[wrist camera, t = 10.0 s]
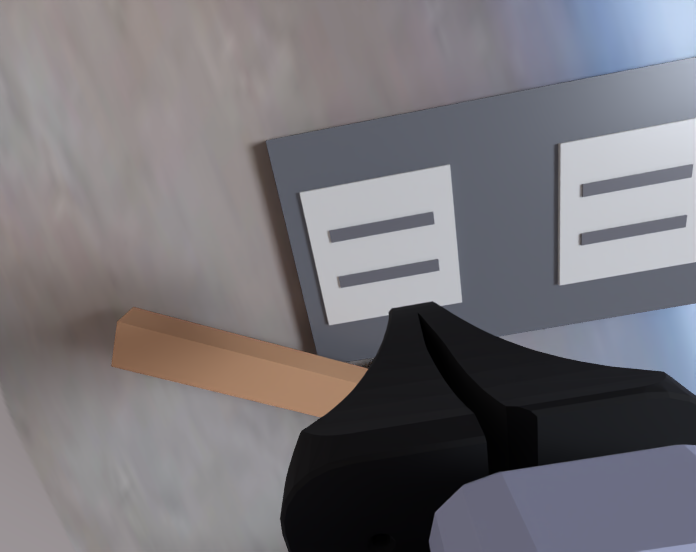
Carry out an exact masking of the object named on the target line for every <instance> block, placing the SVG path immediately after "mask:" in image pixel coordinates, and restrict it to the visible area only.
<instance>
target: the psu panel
mask: <svg viewBox="0 0 696 552" xmlns="http://www.w3.org/2000/svg"><path fill="white" fill-rule="evenodd" d="M266 144H267V149H268V153H269V157H270V161H271V165H272V169H273V173H274V177H275V182H276V186H277V190H278V194H279V198H280V202H281V206H282V211H283V215H284V219H285V223H286V227H287V231H288V235H289V239H290V244H291V248H292V252H293V256H294V260H295V264H296V268H297V273H298V277H299V281H300V285H301V289H302V293H303V297H304V301H305V306H306V310H307V314H308V318H309V322H310V326H311V330H312V335H313V339H314V343H315V347H316V351H317V355H318V356H322V357H326V358H329V359H333V360H337V361H341V362H350V361H356V360H362V359H368V358H374V357H375V356H376V354H377V352H378V350H379V347H380V345H381V343H382V341H383V338H384V335H385V332H386V329H387V325H388V320H389V314H388V312H389V311H390V310H391V308H397V307H402V306H408V305H414V304H420V303H425V302H431V301H433V302H435V303H437V304H438V305H440V306H442V307H443V308H445V309H446V310H448V311H450V312H451V313H453V314H454V315H456V316H458V317H459V318H461V319H463V320H465V321H466V322H468V323H470V324H472V325H474V326H476V327H478V328H480V329H482V330H484V331H486V332H488V333H490V334H492V335H494V336H496V337H498V336H504V335H510V334H516V333H522V332H528V331H534V330H540V329H546V328H552V327H558V326H564V325H570V324H575V323H581V322H587V321H593V320H599V319H605V318H611V317H617V316H623V315H629V314H635V313H641V312H647V311H653V310H659V309H665V308H671V307H676V306H682V305H688V304H694V303H696V57H693V58H688V59H683V60H678V61H672V62H667V63H662V64H657V65H652V66H647V67H642V68H636V69H631V70H626V71H621V72H616V73H611V74H606V75H600V76H595V77H590V78H585V79H580V80H575V81H570V82H564V83H559V84H554V85H549V86H544V87H539V88H534V89H528V90H523V91H518V92H513V93H508V94H503V95H498V96H492V97H487V98H482V99H477V100H472V101H467V102H462V103H456V104H451V105H446V106H441V107H436V108H431V109H426V110H420V111H415V112H410V113H405V114H400V115H395V116H389V117H384V118H379V119H374V120H369V121H364V122H359V123H353V124H348V125H343V126H338V127H333V128H328V129H323V130H317V131H312V132H307V133H302V134H297V135H292V136H287V137H281V138H276V139H271V140H267V141H266Z"/></svg>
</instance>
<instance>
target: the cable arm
mask: <svg viewBox="0 0 696 552" xmlns="http://www.w3.org/2000/svg"><path fill="white" fill-rule="evenodd" d="M111 366H112V367H116V368H120V369H124V370H128V371H132V372H136V373H140V374H145V375H149V376H153V377H157V378H161V379H165V380H169V381H173V382H178V383H182V384H186V385H190V386H194V387H198V388H202V389H206V390H211V391H215V392H219V393H223V394H227V395H231V396H235V397H239V398H243V399H248V400H252V401H256V402H260V403H264V404H268V405H272V406H276V407H281V408H285V409H289V410H293V411H297V412H301V413H305V414H309V415H313V416H318V417H323V416H324V415H325V414H327V413H328V412H329V411H331V410H332V409H333V408H334V407H335V406H336V405H338V404H339V403H340V402H341V401H342V400H343V399H344V398H345V397H346V396H347V395H348V394H349V393H350V392H351V391H352V390H353V389H354V388H355V386H356V385H357V384H358V383H359V381H360V380H361V379H362V377H363V376H364V375H365V373H366V372H367V370H368V369H367V368H364V367H360V366H356V365H352V364H348V363H345V362H341V361H337V360H333V359H329V358H326V357H322V356H318V355H314V354H310V353H307V352H303V351H299V350H295V349H291V348H288V347H284V346H280V345H276V344H272V343H269V342H265V341H261V340H257V339H253V338H249V337H246V336H242V335H238V334H234V333H230V332H227V331H223V330H219V329H215V328H211V327H208V326H204V325H200V324H196V323H192V322H189V321H185V320H181V319H177V318H173V317H170V316H166V315H162V314H158V313H154V312H151V311H147V310H143V309H139V308H135V307H133V308H132V309H131V310H130V311H128V312H127V313H126V314H125V315H124V316H123V317H122V318H121V319H120V320H118V321H117V327H116V334H115V342H114V349H113V357H112V364H111Z"/></svg>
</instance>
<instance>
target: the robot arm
mask: <svg viewBox="0 0 696 552" xmlns="http://www.w3.org/2000/svg"><path fill="white" fill-rule="evenodd" d="M388 314H389V320H388V325H387V329H386V332H385V335H384V338H383V341H382V343H381V345H380V347H379V350H378V352H377V354H376V356H375V358H374V360H373V362H372V364H371V365H370V367H369V368H368V370H367V372H366V373H365V375H364V376H363V377H362V379H361V380H360V381H359V383H358V384H357V385H356V386H355V388H354V389H353V390H352V391H351V392H350V393H349V394H348V395H347V396H346V397H345V398H344V399H343V400H342V401H341V402H340V403H339V404H338V405H336V406H335V407H334V408H333V409H332V410H331V411H329V412H328V413H327V414H325V415H324V416H323V417H321V418H320V419H318V420H317V421H315V422H314V423H313V424H311V425H310V426H308V427H307V428H305V429H304V430H302V431H301V433H300V435H299V438H298V441H297V444H296V447H295V449H294V452H293V456H292V459H291V462H290V465H289V469H288V473H287V477H286V482H285V487H284V495H283V502H282V509H281V516H280V520H281V527H282V534H283V537H284V540H285V543H286V546H287V549H288V552H696V396H695V395H694V394H693V393H691V392H690V391H689V390H687V389H686V388H685V387H684V386H682V385H681V384H680V383H678V382H677V381H676V380H674V379H673V378H672V377H670V376H669V375H668V374H666V373H665V372H661V371H651V370H641V369H631V368H620V367H611V366H604V365H598V364H592V363H587V362H581V361H576V360H571V359H566V358H562V357H558V356H554V355H550V354H546V353H542V352H538V351H535V350H532V349H529V348H525V347H523V346H520V345H517V344H514V343H512V342H509V341H506V340H504V339H501V338H499V337H496V336H494V335H492V334H490V333H488V332H486V331H484V330H482V329H480V328H478V327H476V326H474V325H472V324H470V323H468V322H466V321H465V320H463V319H461V318H459V317H458V316H456V315H454V314H453V313H451V312H450V311H448V310H446V309H445V308H443V307H442V306H440V305H438V304H437V303H435V302H433V301H431V302H425V303H420V304H414V305H408V306H402V307H397V308H391V310H390V311H389V312H388Z"/></svg>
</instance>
